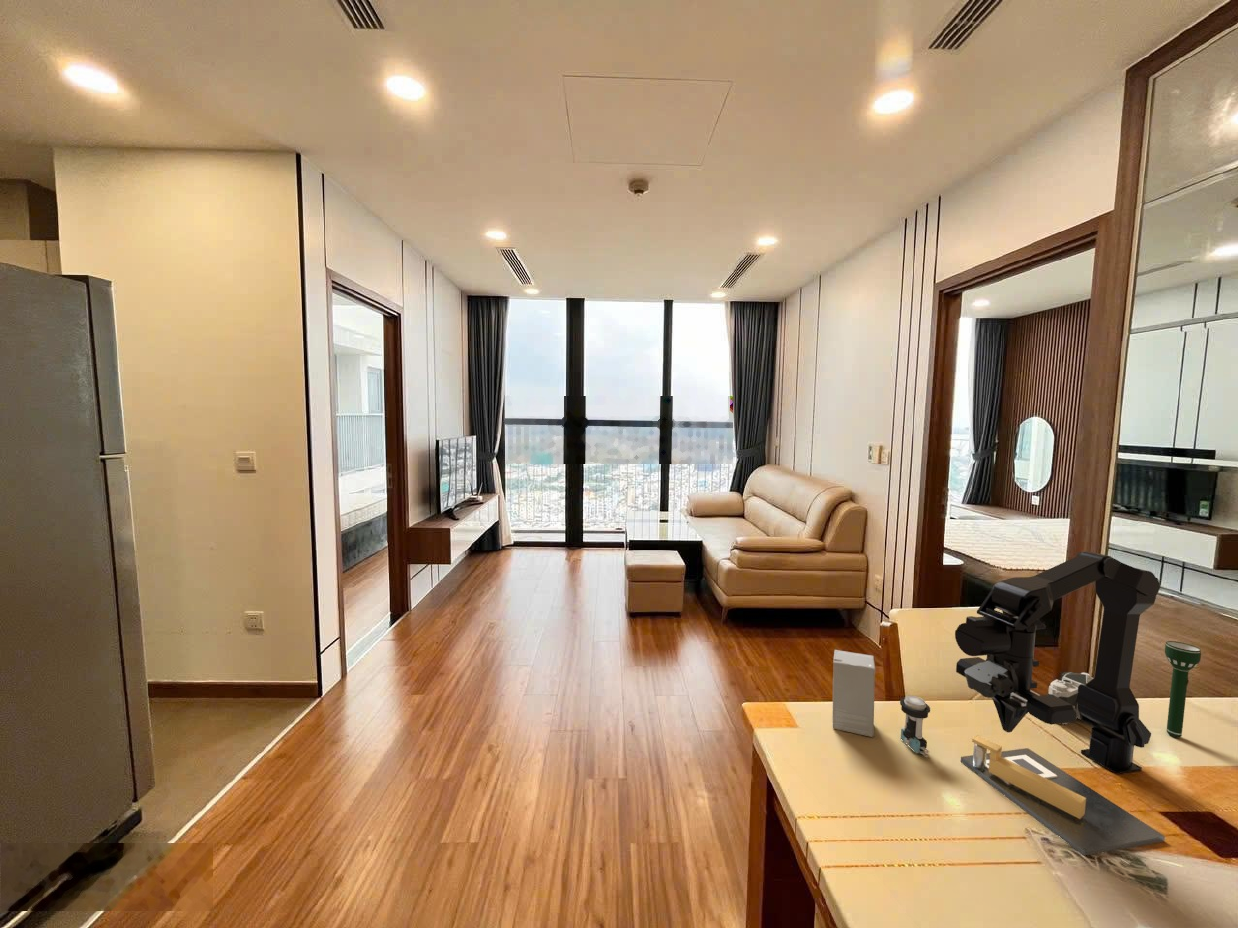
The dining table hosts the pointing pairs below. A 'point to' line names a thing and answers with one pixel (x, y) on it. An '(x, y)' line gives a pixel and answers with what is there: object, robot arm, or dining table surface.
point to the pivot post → (979, 757)
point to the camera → (1069, 687)
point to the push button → (914, 723)
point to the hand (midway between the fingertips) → (1007, 731)
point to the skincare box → (853, 692)
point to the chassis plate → (1087, 835)
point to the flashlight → (1179, 681)
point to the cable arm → (1032, 781)
